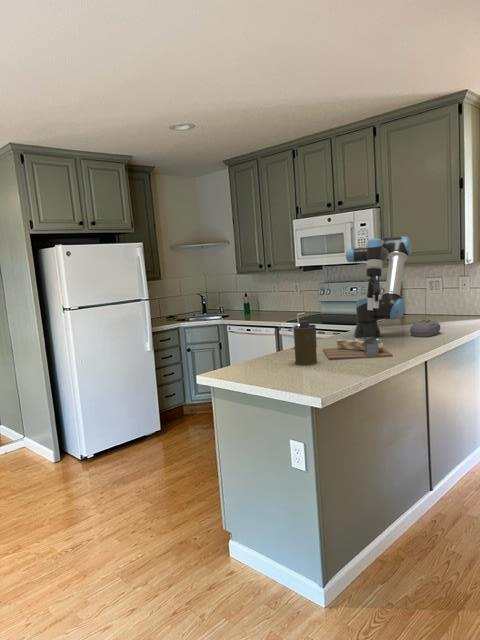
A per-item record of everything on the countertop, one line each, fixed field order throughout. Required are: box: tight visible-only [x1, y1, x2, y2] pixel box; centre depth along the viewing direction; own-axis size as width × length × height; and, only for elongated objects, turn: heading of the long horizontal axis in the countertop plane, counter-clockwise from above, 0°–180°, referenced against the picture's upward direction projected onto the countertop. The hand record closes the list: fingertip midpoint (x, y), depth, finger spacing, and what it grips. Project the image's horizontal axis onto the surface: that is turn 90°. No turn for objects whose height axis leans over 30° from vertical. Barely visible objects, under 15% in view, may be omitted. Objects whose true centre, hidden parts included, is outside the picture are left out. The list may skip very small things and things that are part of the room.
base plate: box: [322, 347, 394, 361], centre depth 240 cm, size 24×30×1 cm
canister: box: [292, 320, 318, 366], centre depth 226 cm, size 11×10×20 cm
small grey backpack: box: [409, 319, 441, 338], centre depth 279 cm, size 15×8×20 cm
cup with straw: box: [290, 312, 307, 336], centre depth 263 cm, size 8×9×20 cm
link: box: [336, 339, 384, 352], centre depth 242 cm, size 24×5×4 cm, turn 48°
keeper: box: [360, 337, 379, 356], centre depth 234 cm, size 12×6×7 cm, turn 178°
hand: (372, 309), depth 250 cm, fingers open, 13 cm apart
